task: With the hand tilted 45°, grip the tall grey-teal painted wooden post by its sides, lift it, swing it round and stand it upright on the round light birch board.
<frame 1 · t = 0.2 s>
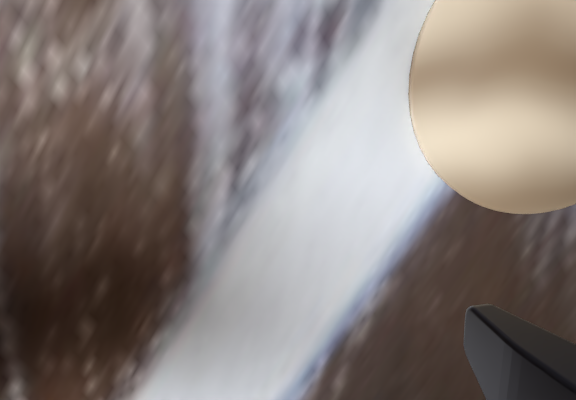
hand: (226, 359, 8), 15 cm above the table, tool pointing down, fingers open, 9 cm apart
board: (549, 76, 22), on the table
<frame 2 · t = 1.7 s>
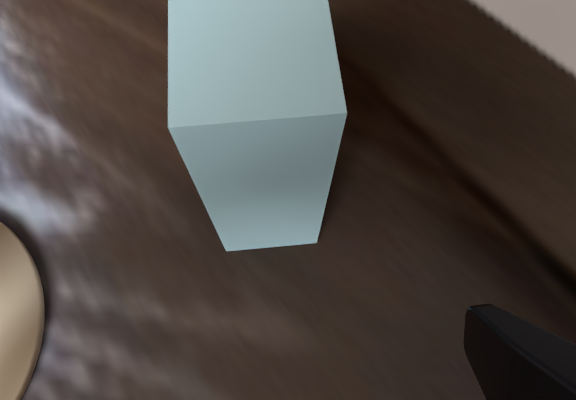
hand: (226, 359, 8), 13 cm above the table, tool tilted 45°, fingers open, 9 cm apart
teal post: (268, 204, 23), on the table
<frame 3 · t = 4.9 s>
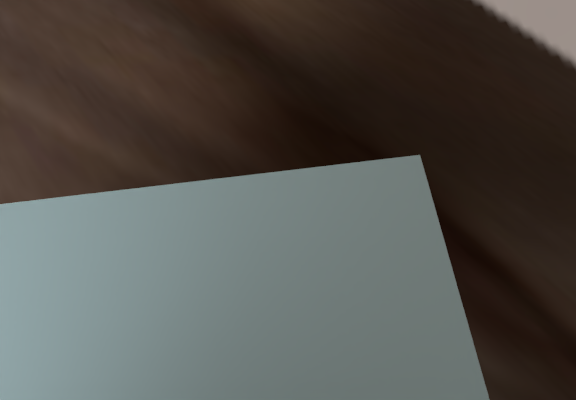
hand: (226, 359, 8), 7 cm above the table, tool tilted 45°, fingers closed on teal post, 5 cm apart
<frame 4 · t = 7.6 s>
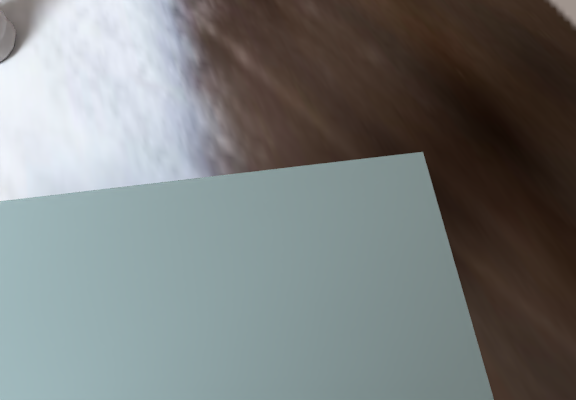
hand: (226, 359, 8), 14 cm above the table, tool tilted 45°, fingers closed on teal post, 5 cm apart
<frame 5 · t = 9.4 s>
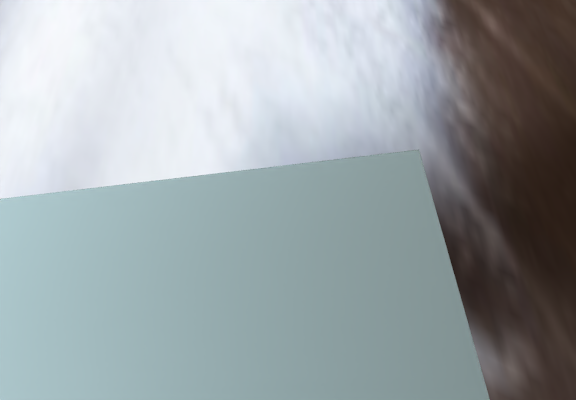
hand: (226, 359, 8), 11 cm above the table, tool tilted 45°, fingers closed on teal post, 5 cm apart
when the fingers open (8 cm above the table, at t = 10.5 s): teal post stays where it is, resting on board.
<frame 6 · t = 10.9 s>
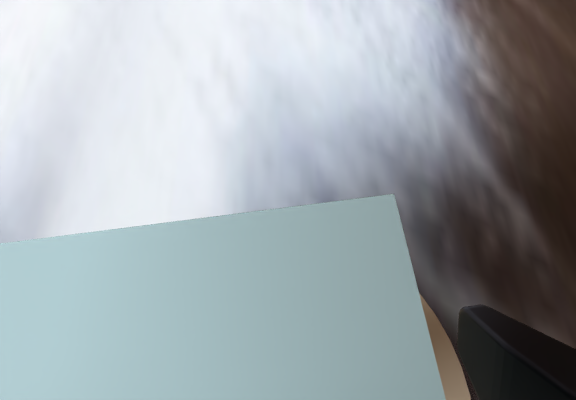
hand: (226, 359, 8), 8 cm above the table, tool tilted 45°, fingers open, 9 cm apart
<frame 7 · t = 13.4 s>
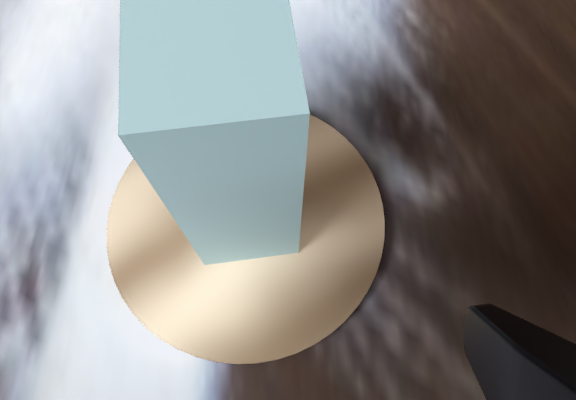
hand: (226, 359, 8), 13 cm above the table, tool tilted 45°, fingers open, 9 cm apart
board: (247, 220, 23), on the table
teal post: (247, 215, 23), point 1 cm above the table, touching board
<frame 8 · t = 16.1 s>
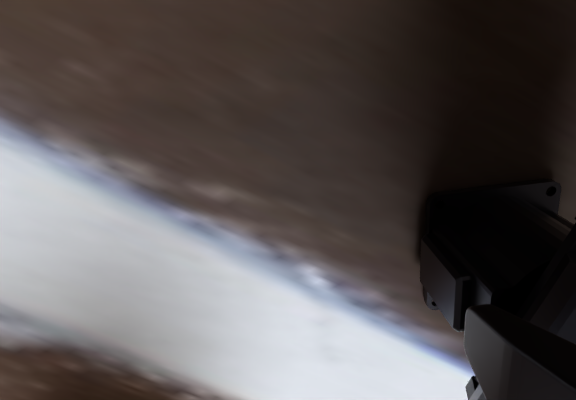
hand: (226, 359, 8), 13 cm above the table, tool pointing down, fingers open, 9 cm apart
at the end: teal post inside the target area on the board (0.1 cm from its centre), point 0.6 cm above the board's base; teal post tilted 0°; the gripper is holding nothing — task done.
